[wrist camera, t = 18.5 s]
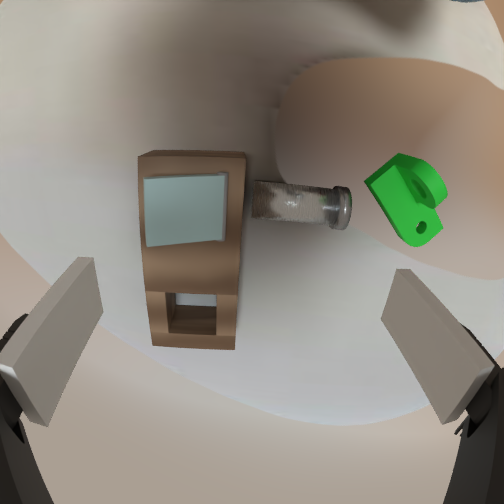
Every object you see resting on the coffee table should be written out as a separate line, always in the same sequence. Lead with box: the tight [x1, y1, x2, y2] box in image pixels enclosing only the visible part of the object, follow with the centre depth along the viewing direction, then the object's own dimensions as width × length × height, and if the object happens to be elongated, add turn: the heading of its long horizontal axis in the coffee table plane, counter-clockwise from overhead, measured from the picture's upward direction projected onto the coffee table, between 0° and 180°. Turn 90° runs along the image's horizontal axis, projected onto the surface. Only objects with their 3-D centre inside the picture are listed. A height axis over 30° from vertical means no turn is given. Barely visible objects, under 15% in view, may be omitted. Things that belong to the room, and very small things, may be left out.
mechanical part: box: [364, 153, 447, 247], centre depth 33 cm, size 12×6×8 cm, turn 41°
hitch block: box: [138, 150, 246, 350], centre depth 34 cm, size 22×10×6 cm, turn 176°
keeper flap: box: [143, 172, 228, 247], centre depth 27 cm, size 6×1×8 cm
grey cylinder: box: [251, 181, 352, 230], centre depth 33 cm, size 5×5×10 cm
